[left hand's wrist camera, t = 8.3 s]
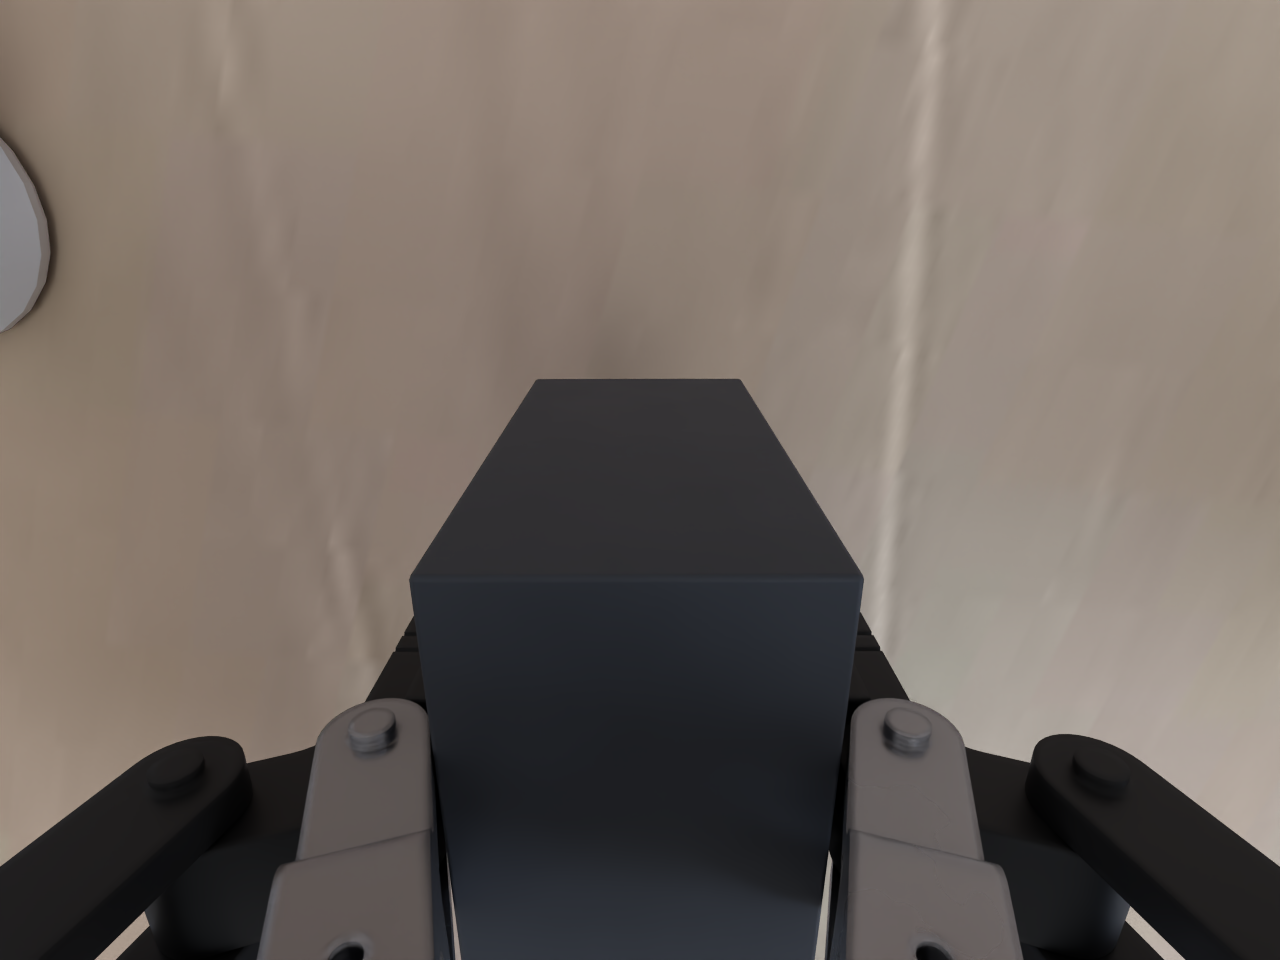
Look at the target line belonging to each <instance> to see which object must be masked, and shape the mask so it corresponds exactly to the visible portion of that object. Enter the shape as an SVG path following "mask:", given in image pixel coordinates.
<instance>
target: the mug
mask: <svg viewBox="0 0 1280 960" xmlns="http://www.w3.org/2000/svg"><path fill="white" fill-rule="evenodd" d="M50 253H51V252H50V243H49V234H48V226H47V219H46V216H45V213H44V211H43V208H42V205H41V202H40V200H39V197H38V194H37V191H36V189H35V186H34V184H33V182H32V181H31V179H30V178H29V176H28V174H27V173H26V171H25V170H24V168H23V166H22V165H21V163H20V161H19V160H18V158H17V157H16V155H15V153H14V152H13V151H12V150H11V148H10V147H9V146H8V145H7V144H6V143H5V142H4V141H3V140H2V139H1V138H0V333H1V332H4V331H6V330H9V329H11V328H12V327H13V326H14V325H15V324H16V323H17V322H18V321H19V320H21V319H22V318H23V317H24V316H25V315H26V314H27V313H28V312H29V311H30V310H31V309H32V307H33V306H34V304H35V302H36V300H37V298H38V296H39V294H40V292H41V290H42V288H43V287H44V285H45V283H46V278H47V272H48V266H49V260H50Z"/></svg>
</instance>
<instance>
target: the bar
mask: <svg viewBox="0 0 1280 960" xmlns="http://www.w3.org/2000/svg"><path fill="white" fill-rule="evenodd" d="M409 582H410V589H411V597H412V604H413V611H414V618H415V626H416V633H417V640H418V647H419V655H420V662H421V669H422V676H423V684H424V691H425V698H426V706H427V713H428V720H429V727H430V735H431V742H432V749H433V756H434V764H435V771H436V778H437V785H438V793H439V800H440V807H441V815H442V822H443V829H444V836H445V844H446V851H447V858H448V865H449V873H450V880H451V887H452V894H453V902H454V909H455V916H456V924H457V931H458V938H459V945H460V953H461V960H815V952H816V944H817V937H818V929H819V921H820V914H821V906H822V898H823V891H824V883H825V875H826V867H827V860H828V852H829V844H830V837H831V829H832V821H833V814H834V806H835V798H836V790H837V783H838V775H839V767H840V760H841V752H842V744H843V737H844V729H845V721H846V714H847V706H848V698H849V690H850V683H851V675H852V667H853V660H854V652H855V644H856V637H857V629H858V621H859V613H860V606H861V598H862V590H863V583H864V578H863V575H862V573H861V572H860V570H859V568H858V567H857V565H856V564H855V562H854V560H853V559H852V557H851V556H850V554H849V552H848V551H847V549H846V548H845V546H844V545H843V543H842V541H841V540H840V538H839V537H838V535H837V533H836V532H835V530H834V529H833V527H832V525H831V524H830V522H829V521H828V519H827V517H826V516H825V514H824V513H823V511H822V509H821V508H820V506H819V505H818V503H817V501H816V500H815V498H814V497H813V495H812V493H811V492H810V490H809V489H808V487H807V485H806V484H805V482H804V481H803V479H802V477H801V476H800V474H799V473H798V471H797V469H796V468H795V466H794V465H793V463H792V461H791V460H790V458H789V457H788V455H787V453H786V452H785V450H784V449H783V447H782V445H781V444H780V442H779V441H778V439H777V437H776V436H775V434H774V433H773V431H772V429H771V428H770V426H769V425H768V423H767V421H766V420H765V418H764V417H763V415H762V413H761V412H760V410H759V409H758V407H757V405H756V404H755V402H754V401H753V399H752V397H751V396H750V394H749V393H748V391H747V389H746V388H745V386H744V385H743V383H742V381H741V380H740V379H538V380H536V381H535V383H534V384H533V386H532V387H531V389H530V391H529V392H528V394H527V395H526V397H525V398H524V400H523V401H522V403H521V405H520V406H519V408H518V409H517V411H516V412H515V414H514V415H513V417H512V419H511V420H510V422H509V423H508V425H507V426H506V428H505V429H504V431H503V433H502V434H501V436H500V437H499V439H498V440H497V442H496V443H495V445H494V447H493V448H492V450H491V451H490V453H489V454H488V456H487V457H486V459H485V461H484V462H483V464H482V465H481V467H480V468H479V470H478V471H477V473H476V475H475V476H474V478H473V479H472V481H471V482H470V484H469V485H468V487H467V489H466V490H465V492H464V493H463V495H462V496H461V498H460V499H459V501H458V503H457V504H456V506H455V507H454V509H453V510H452V512H451V513H450V515H449V517H448V518H447V520H446V521H445V523H444V524H443V526H442V528H441V529H440V531H439V532H438V534H437V535H436V537H435V538H434V540H433V542H432V543H431V545H430V546H429V548H428V549H427V551H426V552H425V554H424V556H423V557H422V559H421V560H420V562H419V563H418V565H417V566H416V568H415V570H414V571H413V573H412V574H411V576H410V579H409Z"/></svg>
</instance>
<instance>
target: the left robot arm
mask: <svg viewBox="0 0 1280 960" xmlns="http://www.w3.org/2000/svg"><path fill="white" fill-rule="evenodd" d="M404 633H405V634H404V636H402V638H401V639H400V641H399V643H398V645H397V646H396V651H395V652H393V653H392V655H391V657H390V659H389V660H388V662H387V664H386V666H385V668H384V669H383V671H382V673H381V675H380V676H379V678H378V680H377V682H376V683H375V685H374V687H373V689H372V690H371V692H370V694H369V696H368V697H367V699H366V701H365V703H362V704H359V705H356V706H354V707H352V708H349V709H348V710H346V711H344V712H342V713H341V714H339V715H338V716H336V717H335V718H334V719H332V720H331V721H330V722H329V723H328V724H327V725H326V726H325V727H324V729H323V730H322V731H321V733H320V735H319V736H318V739H317V742H316V745H315V746H313V747H310V748H307V749H305V750H302V751H298V752H294V753H291V754H286V755H282V756H277V757H273V758H269V759H264V760H260V761H255V762H251V763H246V759H245V755H244V752H243V749H242V747H241V746H240V745H239V744H238V743H237V742H235V741H234V740H232V739H229V738H226V737H219V736H205V737H197V738H192V739H187V740H184V741H180V742H177V743H174V744H172V745H169V746H166V747H164V748H162V749H160V750H158V751H156V752H154V753H152V754H150V755H149V756H147V757H145V758H143V759H142V760H141V761H139V762H138V763H136V764H135V765H133V766H132V767H131V768H129V769H128V770H127V771H125V772H124V773H123V774H122V775H120V776H119V777H118V778H116V779H115V780H114V781H112V782H111V783H110V784H108V785H107V786H106V787H104V788H103V789H102V790H100V791H99V792H98V793H97V794H95V795H94V796H93V797H91V798H90V799H89V800H87V801H86V802H85V803H83V804H82V805H81V806H79V807H78V808H77V809H75V810H74V811H73V812H72V813H70V814H69V815H68V816H66V817H65V818H64V819H62V820H61V821H60V822H58V823H57V824H56V825H54V826H53V827H52V828H50V829H49V830H48V831H47V832H45V833H44V834H43V835H41V836H40V837H39V838H37V839H36V840H35V841H33V842H32V843H31V844H29V845H28V846H27V847H25V848H24V849H23V850H22V851H20V852H19V853H18V854H16V855H15V856H14V857H12V858H11V859H10V860H8V861H7V862H6V863H4V864H3V865H2V866H0V960H95V959H96V958H97V957H98V956H99V955H100V954H101V953H102V952H103V951H104V950H105V949H106V948H107V947H108V946H109V945H110V944H111V943H112V942H113V941H114V940H115V939H116V938H117V937H118V936H119V935H120V934H121V933H122V932H123V931H124V930H125V929H126V928H127V927H128V926H129V925H131V924H132V923H133V922H134V921H135V920H136V919H137V918H138V917H139V916H140V915H141V914H142V913H143V912H144V911H145V914H146V917H147V920H148V922H149V925H150V926H149V927H148V928H147V929H146V930H145V931H144V932H143V933H142V934H141V935H140V936H139V937H138V938H137V939H136V940H135V941H134V942H133V943H132V944H131V945H130V946H129V947H128V948H127V949H126V950H125V951H124V952H123V953H122V954H121V955H120V956H119V957H118V958H117V959H116V960H455V948H454V933H453V917H452V902H451V887H450V873H449V865H448V858H447V851H446V844H445V836H444V829H443V822H442V815H441V807H440V800H439V793H438V785H437V778H436V771H435V764H434V756H433V749H432V742H431V735H430V727H429V720H428V713H427V706H426V698H425V691H424V684H423V676H422V669H421V662H420V655H419V647H418V640H417V633H416V626H415V618H414V616H413V618H412V620H411V622H410V623H409V625H408V627H407V629H406V631H405V632H404ZM829 852H830V855H831V858H832V865H831V873H830V887H829V902H828V917H827V933H826V948H825V960H1164V959H1163V958H1162V957H1161V956H1160V955H1159V954H1158V953H1157V952H1156V951H1155V950H1154V949H1153V948H1152V947H1151V946H1150V945H1149V944H1148V943H1147V942H1146V941H1145V940H1144V939H1143V938H1142V937H1141V936H1140V935H1139V934H1138V933H1137V932H1136V931H1135V930H1134V929H1133V928H1132V927H1131V926H1130V925H1129V924H1128V923H1127V922H1126V921H1125V919H1126V916H1127V914H1128V911H1129V908H1130V906H1131V907H1132V908H1133V909H1134V910H1135V911H1136V912H1137V913H1138V914H1139V915H1140V916H1141V917H1142V918H1143V919H1144V920H1145V921H1146V922H1147V923H1148V924H1149V925H1150V926H1152V927H1153V928H1154V929H1155V930H1156V931H1157V932H1158V933H1159V934H1160V935H1161V936H1162V937H1163V938H1164V939H1165V940H1166V941H1167V942H1168V943H1169V944H1170V945H1171V946H1172V947H1173V948H1174V949H1175V950H1176V951H1177V952H1178V953H1179V954H1180V955H1181V956H1182V957H1183V958H1184V959H1185V960H1280V866H1278V865H1277V864H1276V863H1274V862H1273V861H1272V860H1270V859H1269V858H1268V857H1266V856H1265V855H1264V854H1262V853H1261V852H1260V851H1258V850H1257V849H1256V848H1255V847H1253V846H1252V845H1251V844H1249V843H1248V842H1247V841H1245V840H1244V839H1243V838H1241V837H1240V836H1239V835H1237V834H1236V833H1235V832H1233V831H1232V830H1231V829H1230V828H1228V827H1227V826H1226V825H1224V824H1223V823H1222V822H1220V821H1219V820H1218V819H1216V818H1215V817H1214V816H1212V815H1211V814H1210V813H1208V812H1207V811H1206V810H1205V809H1203V808H1202V807H1201V806H1199V805H1198V804H1197V803H1195V802H1194V801H1193V800H1191V799H1190V798H1189V797H1187V796H1186V795H1185V794H1183V793H1182V792H1181V791H1180V790H1178V789H1177V788H1176V787H1174V786H1173V785H1172V784H1170V783H1169V782H1168V781H1166V780H1165V779H1164V778H1162V777H1161V776H1160V775H1158V774H1157V773H1156V772H1155V771H1153V770H1152V769H1151V768H1149V767H1148V766H1147V765H1145V764H1144V763H1143V762H1141V761H1140V760H1138V759H1137V758H1135V757H1134V756H1132V755H1131V754H1129V753H1127V752H1125V751H1124V750H1122V749H1120V748H1118V747H1115V746H1113V745H1111V744H1108V743H1106V742H1103V741H1101V740H1097V739H1094V738H1090V737H1086V736H1081V735H1072V734H1058V735H1052V736H1049V737H1046V738H1044V739H1042V740H1041V741H1039V742H1038V743H1037V745H1036V746H1035V748H1034V751H1033V755H1032V759H1031V763H1028V762H1024V761H1019V760H1015V759H1011V758H1006V757H1002V756H997V755H993V754H989V753H984V752H980V751H977V750H973V749H970V748H967V747H965V746H964V742H963V739H962V736H961V735H960V733H959V731H958V730H957V729H956V727H955V726H954V725H953V724H952V723H951V722H950V721H949V720H948V719H946V718H945V717H944V716H942V715H941V714H939V713H938V712H936V711H934V710H932V709H931V708H928V707H926V706H924V705H921V704H918V703H915V702H912V701H910V700H909V698H908V696H907V694H906V693H905V691H904V689H903V687H902V686H901V684H900V682H899V680H898V678H897V677H896V675H895V673H894V671H893V669H892V668H891V666H890V664H889V662H888V660H887V659H886V657H885V655H884V653H883V652H882V651H880V646H879V644H878V643H877V641H876V639H875V637H874V635H871V630H870V628H869V626H868V625H867V623H866V621H865V619H864V618H863V616H862V614H861V613H859V621H858V629H857V637H856V644H855V652H854V660H853V667H852V675H851V683H850V690H849V698H848V706H847V714H846V721H845V729H844V737H843V744H842V752H841V760H840V767H839V775H838V783H837V790H836V798H835V806H834V814H833V821H832V829H831V837H830V844H829Z"/></svg>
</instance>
